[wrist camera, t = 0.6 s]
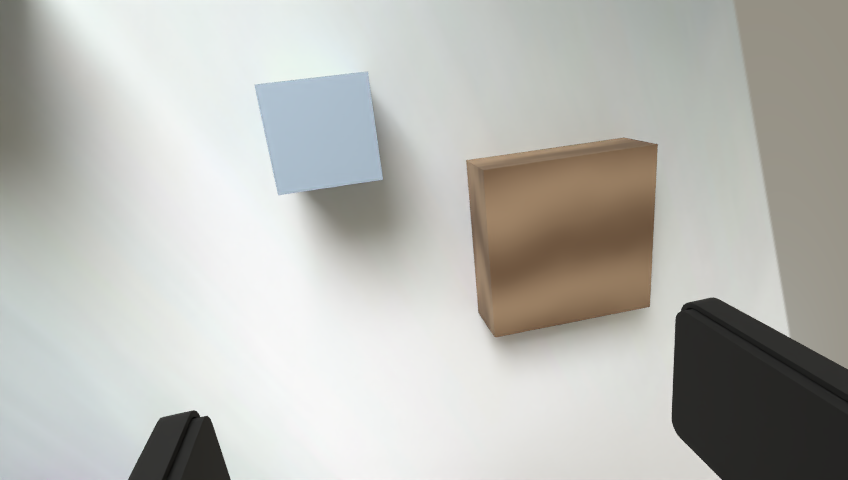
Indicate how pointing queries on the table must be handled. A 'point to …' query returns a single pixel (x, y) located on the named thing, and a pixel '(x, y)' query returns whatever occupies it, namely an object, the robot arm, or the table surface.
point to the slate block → (320, 132)
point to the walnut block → (562, 233)
